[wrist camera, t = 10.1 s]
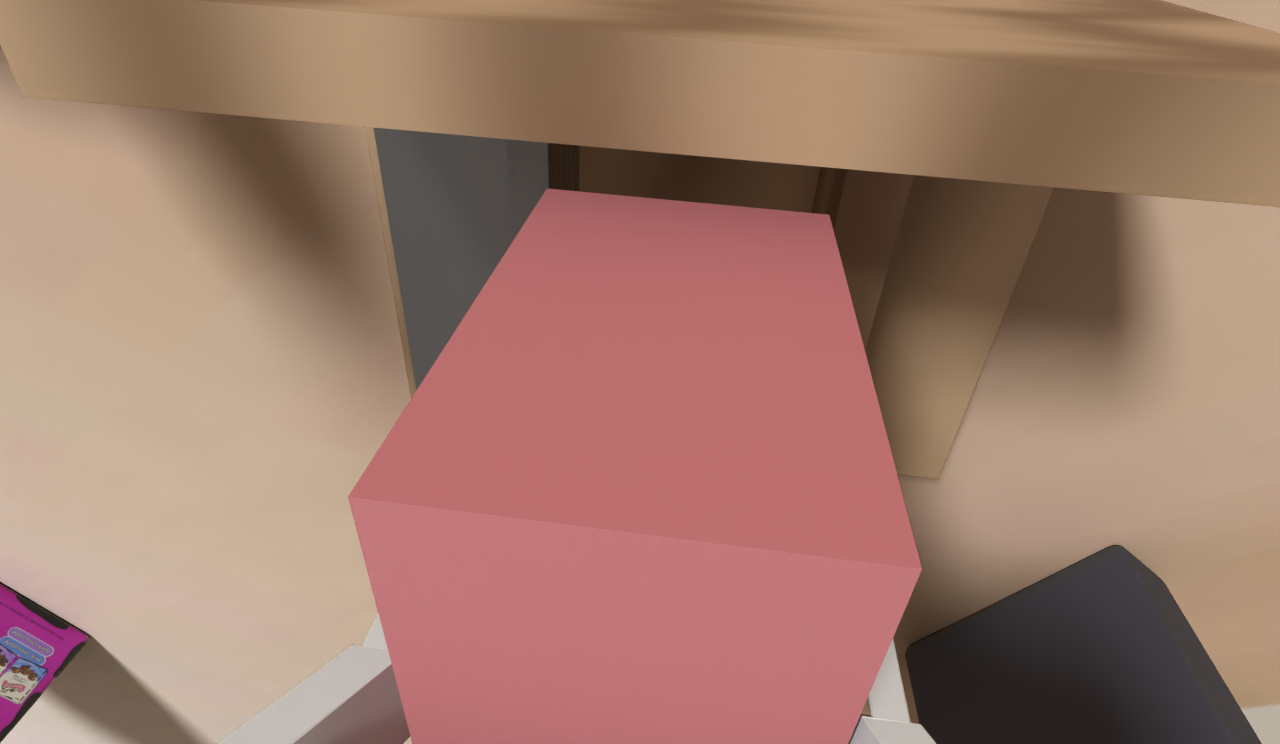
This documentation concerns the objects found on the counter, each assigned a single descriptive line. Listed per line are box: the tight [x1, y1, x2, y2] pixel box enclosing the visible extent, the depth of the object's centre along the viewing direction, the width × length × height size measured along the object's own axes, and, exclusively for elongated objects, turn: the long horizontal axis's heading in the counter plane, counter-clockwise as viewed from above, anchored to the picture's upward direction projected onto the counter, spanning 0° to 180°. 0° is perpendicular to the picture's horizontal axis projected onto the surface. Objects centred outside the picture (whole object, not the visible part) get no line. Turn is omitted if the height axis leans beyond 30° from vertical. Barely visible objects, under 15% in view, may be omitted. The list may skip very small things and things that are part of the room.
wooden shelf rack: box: [0, 0, 1280, 479], centre depth 19 cm, size 20×16×12 cm
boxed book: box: [348, 189, 922, 744], centre depth 11 cm, size 4×11×7 cm, turn 177°
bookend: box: [373, 127, 579, 391], centre depth 21 cm, size 6×13×4 cm, turn 177°
